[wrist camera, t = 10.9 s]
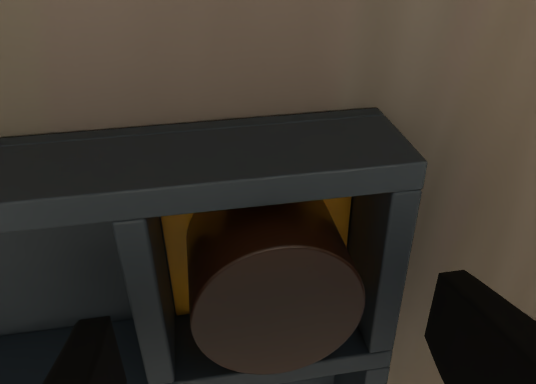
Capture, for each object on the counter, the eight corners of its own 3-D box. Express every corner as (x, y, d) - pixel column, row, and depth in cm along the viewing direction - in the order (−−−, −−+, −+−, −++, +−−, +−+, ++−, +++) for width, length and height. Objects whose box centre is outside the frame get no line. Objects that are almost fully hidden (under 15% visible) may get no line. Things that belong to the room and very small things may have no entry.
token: (326, 281, 15) (358, 362, 12) (193, 298, 14) (198, 386, 12) (334, 166, 13) (375, 235, 10) (178, 180, 12) (180, 259, 10)
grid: (344, 401, 19) (369, 478, 17) (12, 455, 18) (-15, 549, 15) (378, 107, 13) (428, 161, 10) (-151, 149, 11) (-245, 227, 9)
